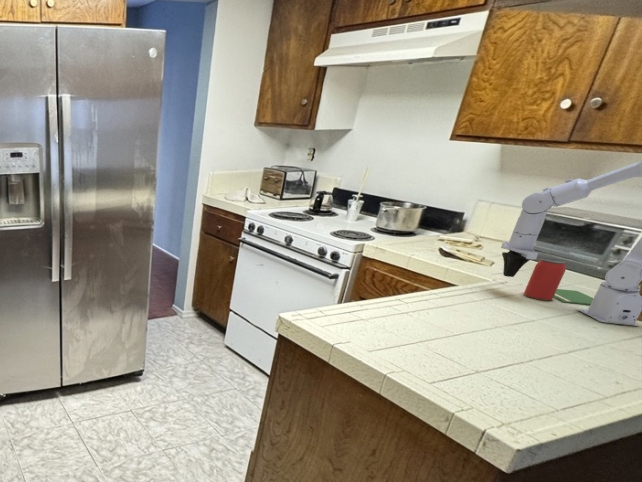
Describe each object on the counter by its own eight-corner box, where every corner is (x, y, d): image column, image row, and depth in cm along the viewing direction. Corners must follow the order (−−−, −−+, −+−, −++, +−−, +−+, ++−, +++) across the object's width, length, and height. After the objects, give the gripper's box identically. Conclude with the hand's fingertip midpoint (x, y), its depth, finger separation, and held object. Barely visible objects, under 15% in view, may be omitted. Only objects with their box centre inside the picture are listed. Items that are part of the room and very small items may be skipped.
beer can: (540, 294, 149) (556, 258, 144) (558, 301, 143) (575, 263, 138) (517, 293, 149) (532, 256, 145) (534, 300, 143) (550, 262, 139)
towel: (608, 307, 139) (609, 305, 139) (563, 302, 142) (564, 300, 142) (576, 292, 152) (577, 290, 151) (535, 288, 154) (535, 286, 154)
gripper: (496, 227, 149) (481, 268, 154) (523, 237, 136) (505, 281, 141) (523, 229, 147) (507, 270, 152) (553, 239, 134) (534, 284, 139)
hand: (508, 276), depth 146 cm, fingers closed
